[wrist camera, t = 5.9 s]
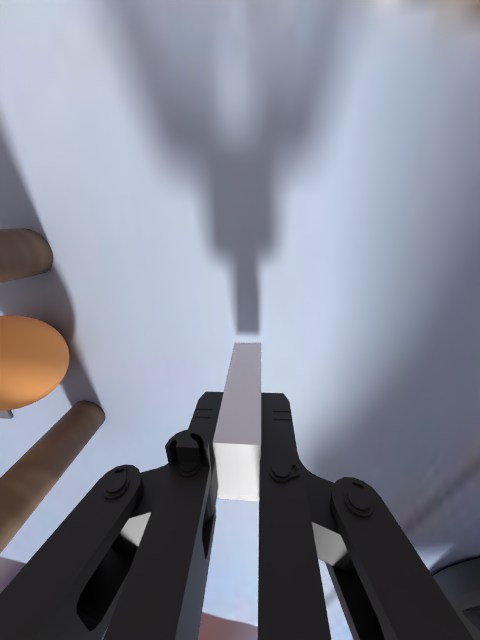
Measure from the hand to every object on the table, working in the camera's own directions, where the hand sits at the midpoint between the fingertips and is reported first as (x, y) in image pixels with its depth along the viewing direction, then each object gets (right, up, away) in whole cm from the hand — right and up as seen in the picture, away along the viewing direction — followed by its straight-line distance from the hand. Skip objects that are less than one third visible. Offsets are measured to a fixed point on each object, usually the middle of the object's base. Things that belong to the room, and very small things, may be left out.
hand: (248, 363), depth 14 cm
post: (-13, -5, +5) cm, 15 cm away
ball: (-14, 0, 0) cm, 14 cm away
